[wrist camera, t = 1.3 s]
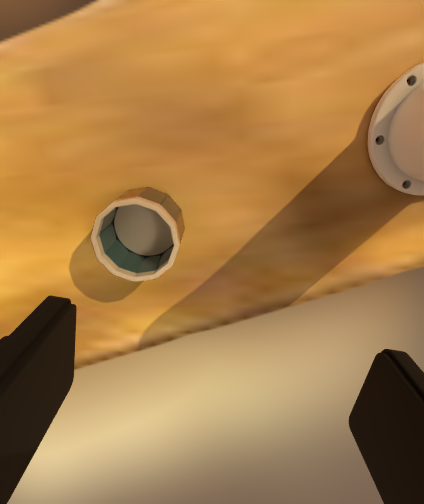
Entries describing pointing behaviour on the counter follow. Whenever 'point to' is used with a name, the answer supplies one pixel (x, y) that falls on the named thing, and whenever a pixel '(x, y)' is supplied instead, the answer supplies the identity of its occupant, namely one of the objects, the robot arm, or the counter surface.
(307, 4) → the counter surface
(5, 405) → the robot arm
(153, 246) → the teal cup
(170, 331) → the counter surface
